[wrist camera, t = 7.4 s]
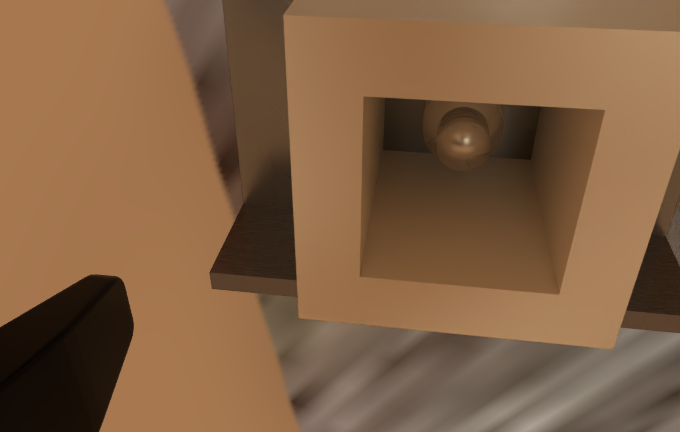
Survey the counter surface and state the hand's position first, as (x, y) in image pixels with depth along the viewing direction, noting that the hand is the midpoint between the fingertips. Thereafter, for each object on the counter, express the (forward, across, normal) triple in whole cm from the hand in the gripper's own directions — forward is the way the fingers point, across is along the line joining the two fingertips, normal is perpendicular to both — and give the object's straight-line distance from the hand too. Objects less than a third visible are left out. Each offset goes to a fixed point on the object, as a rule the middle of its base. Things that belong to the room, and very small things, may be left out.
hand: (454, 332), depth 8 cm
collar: (+8, 0, 0) cm, 8 cm away
